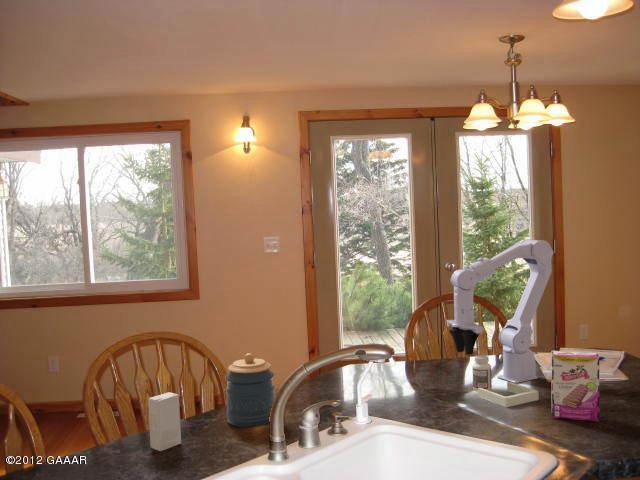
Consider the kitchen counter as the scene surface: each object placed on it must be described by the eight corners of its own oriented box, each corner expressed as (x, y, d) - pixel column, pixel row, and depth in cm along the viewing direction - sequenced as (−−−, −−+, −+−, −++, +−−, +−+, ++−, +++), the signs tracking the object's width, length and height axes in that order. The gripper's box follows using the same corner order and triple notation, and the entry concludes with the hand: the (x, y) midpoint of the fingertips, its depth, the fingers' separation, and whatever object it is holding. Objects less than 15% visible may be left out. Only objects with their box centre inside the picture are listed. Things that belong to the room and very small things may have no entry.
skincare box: (171, 440, 148) (168, 391, 147) (182, 444, 145) (180, 394, 144) (149, 448, 143) (146, 397, 142) (160, 452, 140) (158, 400, 139)
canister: (236, 431, 152) (233, 361, 151) (220, 417, 163) (217, 352, 163) (284, 421, 158) (281, 354, 157) (265, 408, 169) (262, 345, 169)
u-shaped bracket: (509, 390, 178) (509, 381, 178) (538, 400, 168) (538, 391, 168) (477, 397, 173) (477, 388, 173) (505, 407, 163) (505, 398, 163)
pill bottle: (480, 385, 184) (479, 353, 183) (495, 389, 180) (494, 356, 179) (469, 389, 180) (468, 356, 180) (484, 393, 176) (483, 359, 176)
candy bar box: (552, 419, 153) (550, 354, 152) (551, 412, 158) (550, 350, 157) (600, 422, 149) (599, 356, 149) (598, 416, 154) (597, 352, 153)
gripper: (438, 307, 190) (439, 350, 191) (469, 313, 178) (470, 359, 178) (456, 305, 194) (457, 347, 194) (488, 311, 181) (489, 356, 181)
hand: (464, 353), depth 186 cm, fingers open, 3 cm apart
